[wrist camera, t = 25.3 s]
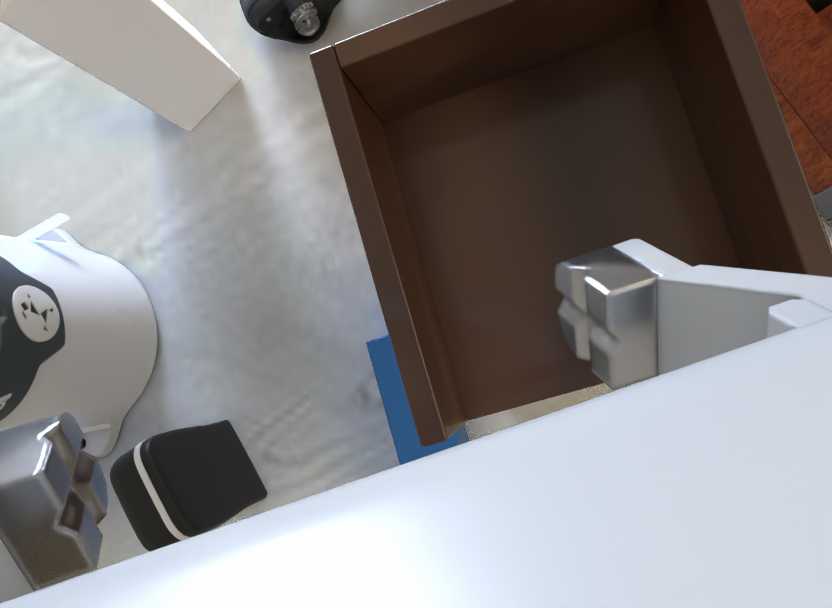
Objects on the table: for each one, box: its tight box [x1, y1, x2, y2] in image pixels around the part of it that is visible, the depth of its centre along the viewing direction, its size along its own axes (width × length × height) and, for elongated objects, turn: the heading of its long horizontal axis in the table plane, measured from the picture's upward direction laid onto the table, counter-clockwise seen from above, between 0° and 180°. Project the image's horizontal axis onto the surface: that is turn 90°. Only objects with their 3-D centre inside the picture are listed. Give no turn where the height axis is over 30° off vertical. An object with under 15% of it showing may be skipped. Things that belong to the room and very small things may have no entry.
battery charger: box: [110, 420, 267, 551], centre depth 45 cm, size 7×4×11 cm, turn 31°
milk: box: [0, 0, 241, 132], centre depth 42 cm, size 6×6×22 cm
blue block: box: [366, 335, 469, 465], centre depth 45 cm, size 4×18×4 cm, turn 16°
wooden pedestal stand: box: [310, 0, 832, 447], centre depth 32 cm, size 12×12×29 cm
